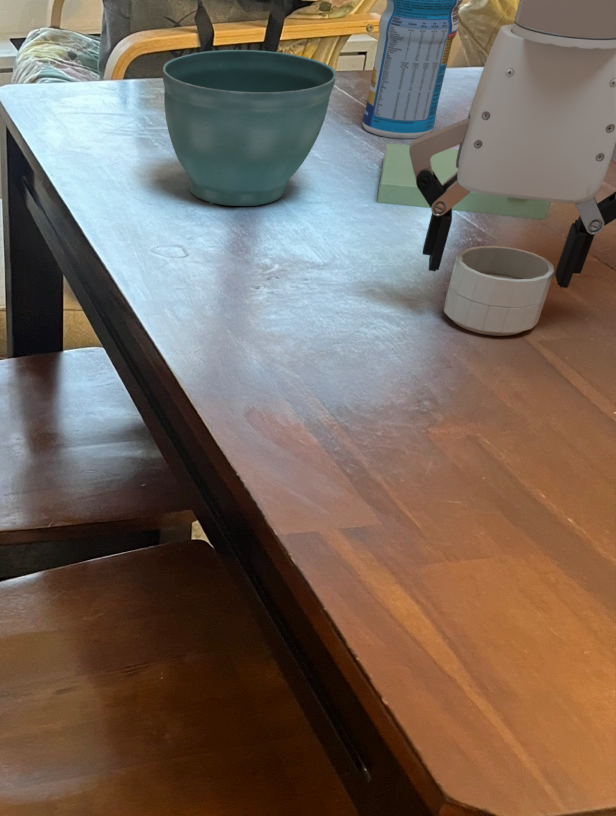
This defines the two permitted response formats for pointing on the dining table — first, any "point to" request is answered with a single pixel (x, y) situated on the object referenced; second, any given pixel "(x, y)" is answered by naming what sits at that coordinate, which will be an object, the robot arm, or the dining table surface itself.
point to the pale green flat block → (404, 191)
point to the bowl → (498, 290)
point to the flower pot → (244, 120)
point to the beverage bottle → (410, 67)
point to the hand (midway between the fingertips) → (496, 273)
